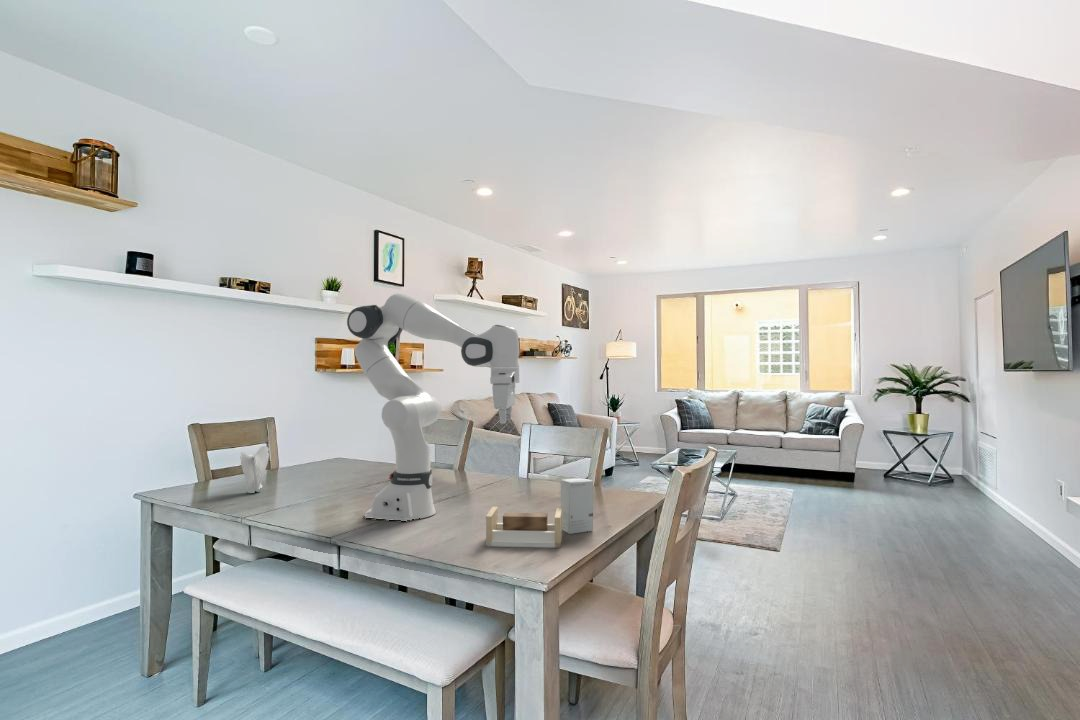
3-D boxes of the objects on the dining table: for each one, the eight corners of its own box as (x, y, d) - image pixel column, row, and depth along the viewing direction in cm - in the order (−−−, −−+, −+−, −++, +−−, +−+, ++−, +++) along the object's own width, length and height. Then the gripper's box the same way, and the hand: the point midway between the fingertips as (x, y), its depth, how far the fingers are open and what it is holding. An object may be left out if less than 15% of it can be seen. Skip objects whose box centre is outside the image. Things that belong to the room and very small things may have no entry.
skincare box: (569, 534, 156) (568, 482, 156) (559, 529, 162) (559, 478, 162) (594, 531, 160) (594, 480, 160) (584, 525, 165) (584, 476, 165)
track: (486, 546, 147) (486, 516, 147) (492, 534, 157) (492, 506, 157) (560, 547, 145) (560, 517, 145) (562, 536, 155) (562, 507, 155)
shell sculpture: (237, 495, 209) (237, 447, 209) (252, 490, 217) (251, 444, 217) (256, 495, 207) (256, 448, 208) (270, 490, 216) (270, 445, 216)
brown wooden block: (502, 538, 150) (502, 516, 150) (504, 534, 153) (504, 512, 154) (546, 539, 149) (546, 516, 149) (547, 535, 152) (547, 513, 152)
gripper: (500, 376, 180) (500, 418, 180) (489, 378, 160) (489, 425, 159) (519, 376, 179) (519, 418, 179) (510, 377, 159) (510, 425, 159)
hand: (505, 422), depth 169 cm, fingers open, 8 cm apart
